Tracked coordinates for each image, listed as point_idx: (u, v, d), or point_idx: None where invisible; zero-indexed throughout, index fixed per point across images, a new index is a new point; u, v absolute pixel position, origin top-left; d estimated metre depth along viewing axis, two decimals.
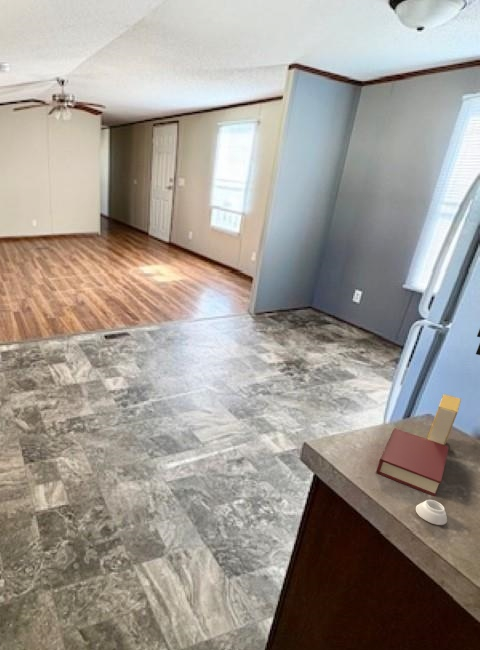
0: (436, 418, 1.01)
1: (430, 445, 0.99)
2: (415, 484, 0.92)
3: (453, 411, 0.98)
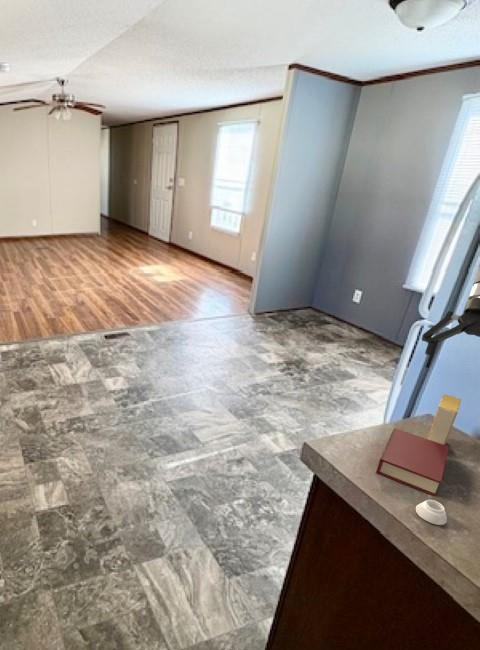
0: (436, 418, 1.01)
1: (430, 445, 0.99)
2: (415, 484, 0.92)
3: (453, 411, 0.98)
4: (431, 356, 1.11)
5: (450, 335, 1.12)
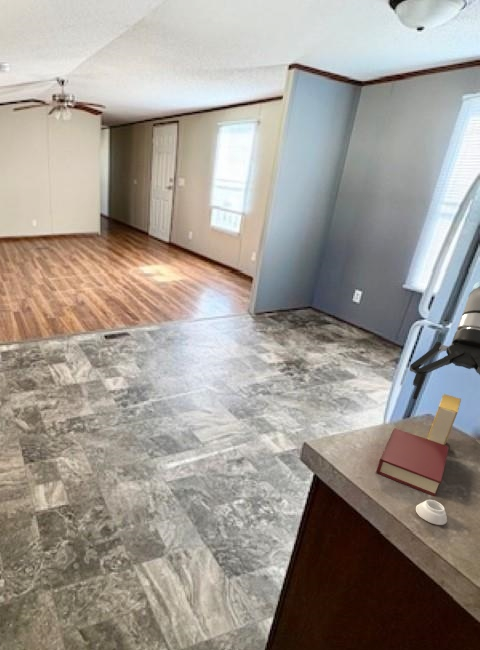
0: (436, 418, 1.01)
1: (430, 445, 0.99)
2: (415, 484, 0.92)
3: (453, 411, 0.98)
4: (418, 387, 1.09)
5: (438, 366, 1.10)
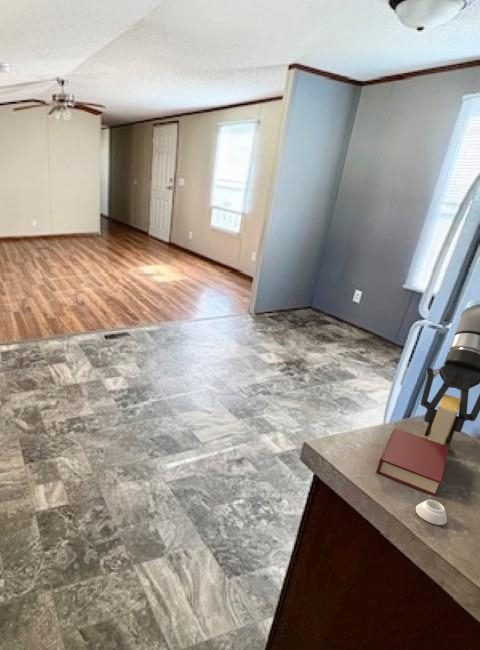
0: (436, 418, 1.01)
1: (430, 445, 0.99)
2: (415, 484, 0.92)
3: (453, 411, 0.98)
4: (430, 424, 1.03)
5: None
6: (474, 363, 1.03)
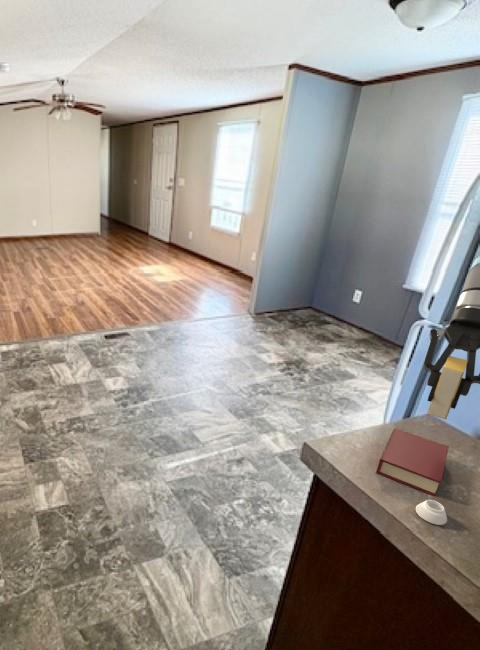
0: (440, 380, 0.93)
1: (430, 445, 0.99)
2: (415, 484, 0.92)
3: (459, 372, 0.90)
4: (434, 388, 0.95)
5: None
6: None
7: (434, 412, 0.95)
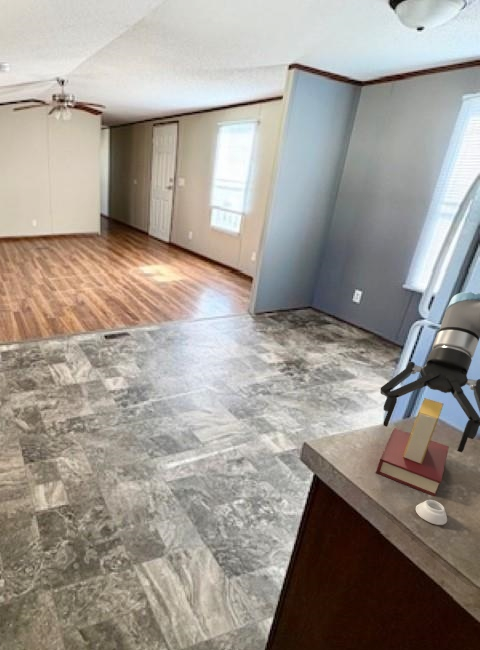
0: (415, 425, 0.92)
1: (430, 445, 0.99)
2: (415, 484, 0.92)
3: (433, 418, 0.89)
4: (389, 414, 0.97)
5: (411, 389, 0.98)
6: (458, 363, 0.93)
7: (410, 456, 0.94)
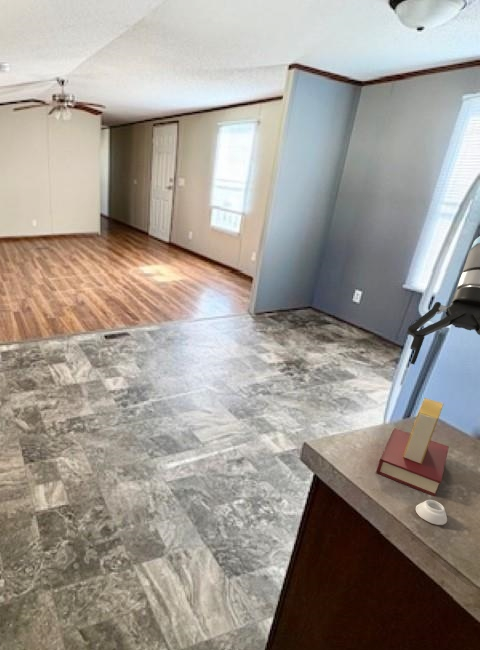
0: (415, 425, 0.92)
1: (430, 445, 0.99)
2: (415, 484, 0.92)
3: (433, 418, 0.89)
4: (417, 351, 1.01)
5: (437, 328, 1.02)
6: None
7: (410, 456, 0.94)
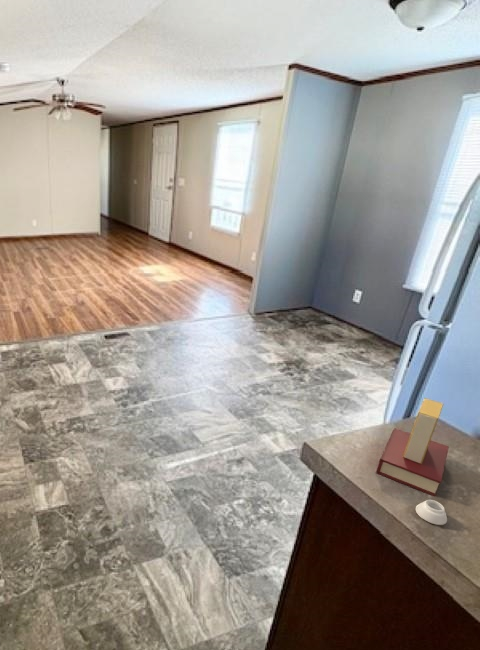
0: (415, 425, 0.92)
1: (430, 445, 0.99)
2: (415, 484, 0.92)
3: (433, 418, 0.89)
4: None
5: None
6: None
7: (410, 456, 0.94)
